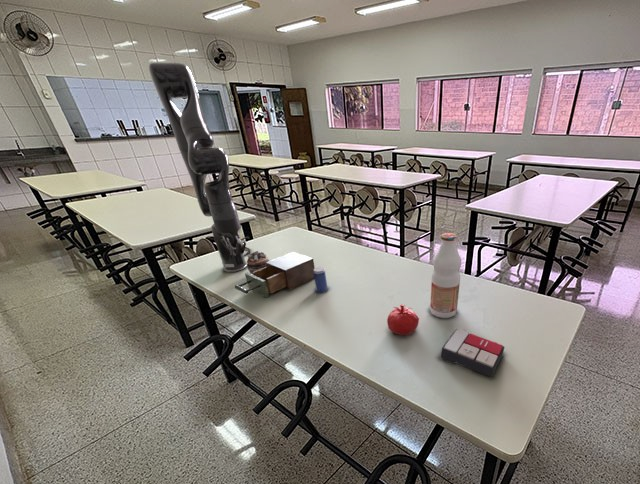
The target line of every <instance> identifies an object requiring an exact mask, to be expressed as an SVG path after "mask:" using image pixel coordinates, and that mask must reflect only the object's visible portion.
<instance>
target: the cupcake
mask: <svg viewBox="0 0 640 484" xmlns="http://www.w3.org/2000/svg"><path fill="white" fill-rule="evenodd" d="M268 261H270V259H269V258H268V257H267V254H266V253H265V252H262V251H261V252H260V251H259V250H256V251H253V252H250V253H249V254H248V255H247V261H246V265H247V266H246V269H247V270H248V273H250V274H252V275H253V273H252V272H254V271H257V270H259V269H262V268H264V267H266V262H268Z"/></svg>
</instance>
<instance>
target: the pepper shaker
mask: <svg viewBox="0 0 640 484" xmlns="http://www.w3.org/2000/svg"><path fill="white" fill-rule="evenodd" d="M313 273H314V279H313V280H314V284H315V291H316V292H317V293H325V292H327V291H328V289H329V288H328V283H327V274H326V270H325V268H324V267H323V266H317V267H315V268H314V272H313Z"/></svg>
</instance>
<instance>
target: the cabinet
mask: <svg viewBox="0 0 640 484" xmlns="http://www.w3.org/2000/svg"><path fill="white" fill-rule="evenodd" d="M267 266H271V267H274V268H276V269H279V270H281V271H284V273H285V277H286V282H287V287H284V288H283V289H285V290H287V291H291V290H294V289H295V288H298V287H299V286H302V285H304V284H306V283H308V282H310V281H312V280H315V279H314V273H313V272H314V268H316V266H315V261H314V258H313V257H310V256H308V255H304V254H301V253H298V252H295V251H292V252H289V253H286V254H284V255H281V256H279V257H276V258H273V259H269V261H268V262H266V267H267Z"/></svg>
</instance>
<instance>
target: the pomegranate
mask: <svg viewBox="0 0 640 484" xmlns="http://www.w3.org/2000/svg"><path fill="white" fill-rule="evenodd" d="M393 308H394V309H392V310H391V311H390V312H389V314H388V316H387V319H386V323H387V327H388V328H387V329H388V330H389V331H390V332H391V333H394V334H395V335H400V336H408V335H410V334H412V333H414V332H415V331H416V330H417V328H418V326H419V322H420V318H419V316H418V315H417V313H415V311H413V310H411V307H406V304H399V307H398V306H393Z"/></svg>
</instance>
